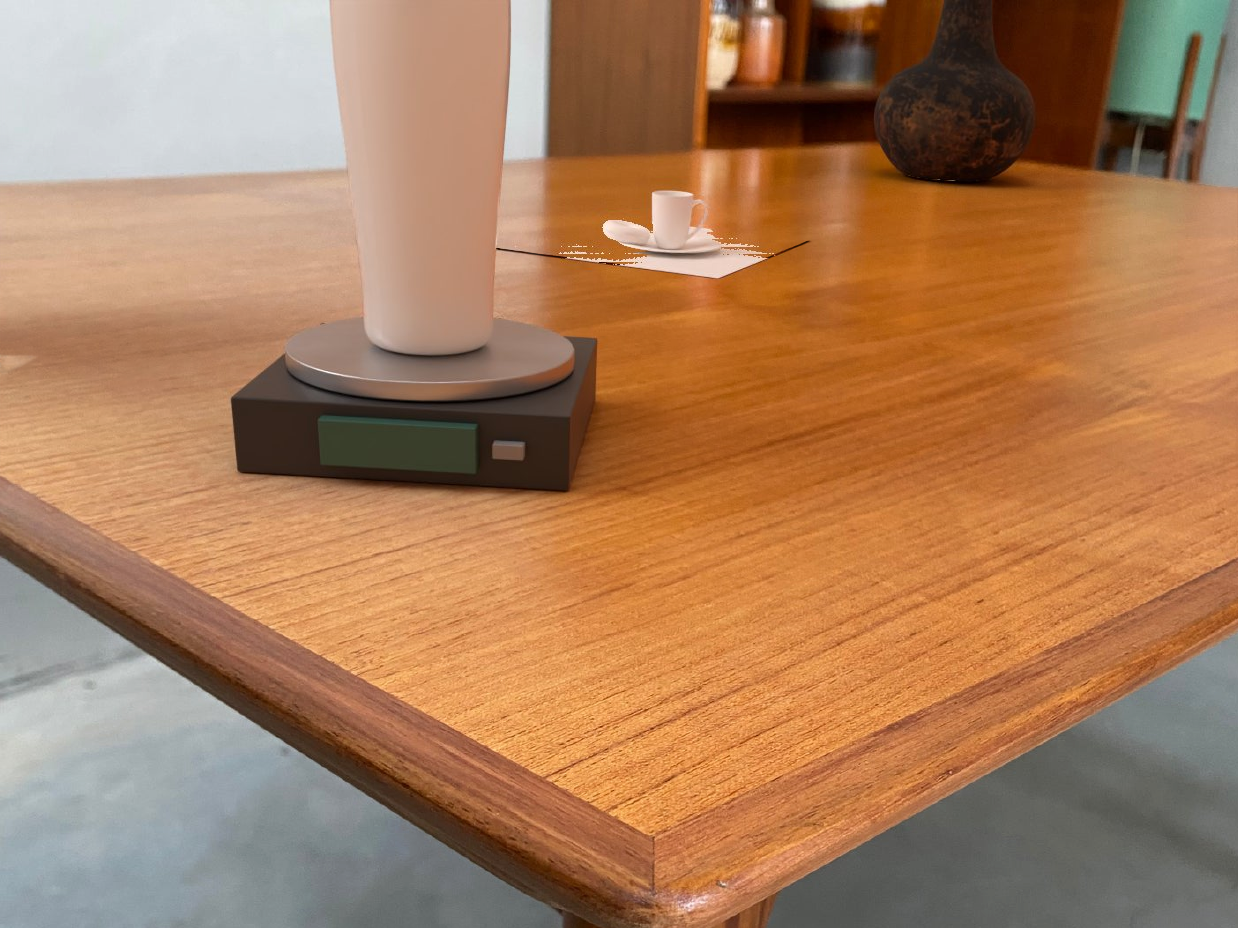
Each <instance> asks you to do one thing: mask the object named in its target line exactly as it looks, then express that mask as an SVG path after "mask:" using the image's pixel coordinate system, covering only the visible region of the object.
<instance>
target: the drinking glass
mask: <svg viewBox="0 0 1238 928" xmlns="http://www.w3.org/2000/svg"><path fill="white" fill-rule="evenodd" d="M511 2H512V0H329V22H330V36H331V37H330V38H331V50H332V61H333V62H332V63H333V71H334V80H335V87H336V95H337V103H338V111H339V119H340V127H341V133H342V140H343V141H342V142H343V149H344V155H345V156H344V157H345V164H346V172H347V179H348V186H349V194H350V201H351V211H352V218H353V225H354V233H355V234H354V235H355V241H356V251H357V257H358V265H359V274H360V282H361V289H362V290H361V295H362V317H363V318H364V329H365V333H366V335H367V337H368V339H369V340H370V341H371V342H372V343H373V344H375V345H376V346H378V347H380V348H382V349H385V350H388V351H392V352H397V353H402V354H410V355H427V356H436V355H452V354H460V353H465V352H469V351H473V350H476V349H478V348H480V347H482V346H484V345H485V344H486V343H487V342H488V341H489V340H490V338H491V336H492V333H493V318H494V287H495V270H496V256H497V249H496V245H497V239H498V232H499V231H498V230H499V217H500V204H501V193H502V192H501V191H502V179H503V178H502V177H503V165H504V154H505V141H506V140H505V139H506V129H507V128H506V127H507V116H508V107H509V105H508V104H509V91H510V74H511V54H512V53H511V52H512V50H511V48H512V5H511V4H512V3H511Z"/></svg>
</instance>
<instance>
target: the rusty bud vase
mask: <svg viewBox="0 0 1238 928" xmlns="http://www.w3.org/2000/svg"><path fill="white" fill-rule="evenodd" d="M993 24H994V23H993V0H943V3H942V9H941V14H940V18H939V22H938V26H937V30H936V34H935V37H934V40H933V43H932V46H931V48H930V50H929V52H928V53H927V55H926V56H925V57H924V58H923V59H922V60H921V61H920V62H918V63H916V64H914V65H912V66H909V67H906V68H904V69H903V70H901V71H899V72H898V73H896V74H895V75H894V76H893V77H892V78H891V79H890V80H889V81H887V83H886V84H885V85H884V87H883V88H882V90H881V91H880V93H879V95H878V98H877V100H876V103H875V107H874V112H873V113H874V115H873V124H874V131H875V135H876V137H877V138H876V139H877V141H878V143H879V144H878V145H880V148H881V150H882V152H883V153H884V155H885V157H886V158H887V160H888V161H889V162H890V164H891V165H892V166H893V167H894V168H895V169H896V170H898V172H900V173H901V174H904V175H905V174H906V175H905V176H907V175H910V176H914V177H919V178H918V179H920V178H927V179H926V180H928V179H940V180H955V181H975V182H977V181H976V180H983V181H986V179H987V180H989V179H990V180H991V179H993V178H995V177H997V176H999V175H1001V174H1002V173H1004V172H1006V171H1007V170H1008V169H1009V168H1010V167H1012V166H1013V165H1014V164H1015V162H1016V161H1018V159H1019V158H1020V157H1021V155H1022V154H1024V152H1025V150H1026V148H1027V146H1028V145H1029V142H1030V140H1031V138H1032V134H1033V132H1034V128H1035V123H1036V107H1035V103H1034V99H1033V95H1032V94H1031V91H1030V90H1029V88H1028V87H1027V85H1026V84H1025V82H1024V81H1023V80H1022V79H1020V78H1019V77H1018V76H1017V75H1016V74H1014V73H1013V72H1012V71H1010V70H1009V69H1007V68H1006V66H1004V65H1003V64H1002V62H1001V61H1000V59H999V57H998V55H997V51H996V46H995V39H994V38H995V37H994V25H993ZM910 176H909V177H910ZM914 177H913V178H914Z"/></svg>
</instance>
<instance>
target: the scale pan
mask: <svg viewBox="0 0 1238 928" xmlns="http://www.w3.org/2000/svg"><path fill="white" fill-rule="evenodd" d="M324 323H325V324H321V323H320V324H321V325H320V324H318V325H317V324H316V325H314V326H312V327H308V328H305V329H303V330H301V331H299V332H297V333H295V334H293V335H292V336H291V337H289V338H288V339H287V340H286V343H285V346H284V353H285V361H286V367H287V369H288V370H289V372H290V373H291V374H292V375H293V376H294V377H296V378H297V379H299V380H301V381H303V382H305V383H307V384H310V385H313V386H315V387H318V388H322V389H325V390H329V391H332V392H337V393H342V394H346V395H352V396H358V397H364V398H373V399H382V400H394V401H412V402H457V401H474V400H486V399H495V398H503V397H509V396H515V395H520V394H525V393H530V392H534V391H537V390H541V389H544V388H547V387H550V386H552V385H555V384H557V383H559V382H561V381H563V380H564V379H566V378H567V377H568V376H569V375H570V374H571V373H572V371H573V369H574V348H573V345H572V343H571V342H570V341H569V340H568V339H566V338H565V337H563V336H564V335H562V334H559V333H557V332H555V331H554V330H550V329H548V328H546V327H545V328H544V327H541V326H538V325H534V324H530V323H526V322H523V321H522V322H521V321H517V320H510V319H505V318H499V317H493V333H492V336H491V338H490V340H489V341H488V342H487V343H486V344H485V345H484V346H482V347H480V348H478V349H476V350H473V351H469V352H465V353H460V354H452V355H436V356H427V355H410V354H402V353H397V352H392V351H388V350H385V349H382V348H380V347H378V346H376V345H375V344H373V343H372V342H371V341H370V340H369V339H368V337H367V335H366V333H365V329H364V318H363V316H358V317H357V316H356V317H351V318H345V319H338V320H333V321H329V322H324Z"/></svg>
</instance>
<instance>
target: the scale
mask: <svg viewBox="0 0 1238 928" xmlns="http://www.w3.org/2000/svg"><path fill="white" fill-rule="evenodd" d="M325 323H326V322H321V323H319V325H321V324H325ZM562 336H563V337H565V338H566V339H568V340H569V341H570V342H571V343H572V345H573V348H574V369H573V371H572V373H571V374H570V375H569V376H568V377H567V378H566V379H564V380H563V381H561V382H559V383H557V384H555V385H552V386H550V387H547V388H544V389H541V390H537V391H534V392H530V393H525V394H520V395H515V396H509V397H503V398H495V399H486V400H474V401H457V402H412V401H394V400H382V399H373V398H364V397H358V396H352V395H346V394H342V393H337V392H332V391H329V390H325V389H322V388H318V387H315V386H313V385H310V384H307V383H305V382H303V381H301V380H299V379H297V378H296V377H294V376H293V375H292V374H291V373H290V372H289V370H288V369H287V367H286V361H285V352H284V353H283V354H282V355H281V356H279V357H278V358H277V359H276V360H275V361H274V362H272V363H271V364H270V365H268V366H267V367H266V368H265V369H263V370H262V371H261V372H260V373H259V374H257V375H256V376H255V377H254V378H253V379H252V380H250V381H249V382H248V383H246V384H245V385H244V386H243V387H241V388H240V389H239V390H238V391H237V392H236V393H234V394H233V395H232V396H231V397H230V405H231V417H232V429H233V439H234V440H233V441H234V449H235V459H236V460H235V461H236V470H237V472H239V473H252V474H253V473H254V474H255V473H256V474H271V475H272V474H273V475H286V476H287V475H288V476H289V475H290V476H305V477H306V476H308V477H323V478H324V477H325V478H343V479H359V480H375V481H389V482H391V481H392V482H408V483H409V482H410V483H425V484H441V485H442V484H444V485H461V486H475V487H492V488H493V487H494V488H495V487H496V488H511V489H529V490H542V491H543V490H545V491H561V492H568V491H569V489H570V487H571V484H572V479H573V477H574V473H575V470H576V466H577V463H578V460H579V456H580V453H581V449H582V446H583V442H584V440H585V436H586V432H587V429H588V426H589V424H590V419H591V415H592V412H593V409H594V406H595V402H596V399H597V398H596V396H597V367H598V366H597V365H598V338H596V337H587V336H586V337H584V336H583V337H582V336H569V335H562Z"/></svg>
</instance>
